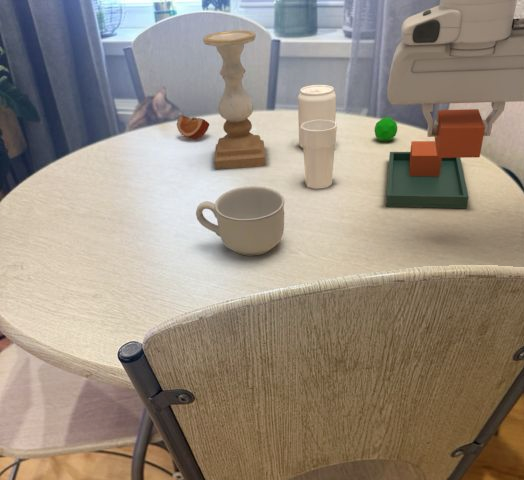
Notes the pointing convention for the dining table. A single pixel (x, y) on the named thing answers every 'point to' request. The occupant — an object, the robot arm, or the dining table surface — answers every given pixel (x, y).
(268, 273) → the dining table surface
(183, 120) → the fruit slice
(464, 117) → the orange block
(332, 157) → the cup
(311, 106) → the beverage can
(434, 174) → the orange rectangular block
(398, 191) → the tray
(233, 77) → the candle holder
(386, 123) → the polyhedron
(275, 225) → the teacup
